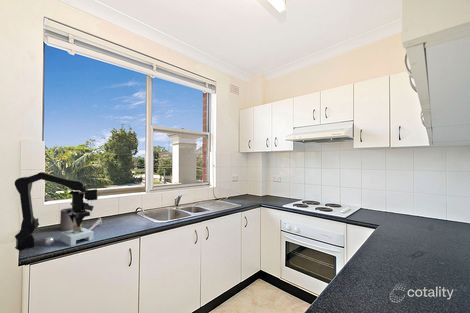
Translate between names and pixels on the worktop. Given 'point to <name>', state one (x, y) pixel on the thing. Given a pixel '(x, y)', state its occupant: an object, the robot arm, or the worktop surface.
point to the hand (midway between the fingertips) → (77, 226)
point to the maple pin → (76, 227)
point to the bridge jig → (76, 236)
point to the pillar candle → (65, 221)
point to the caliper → (96, 223)
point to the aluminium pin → (49, 241)
